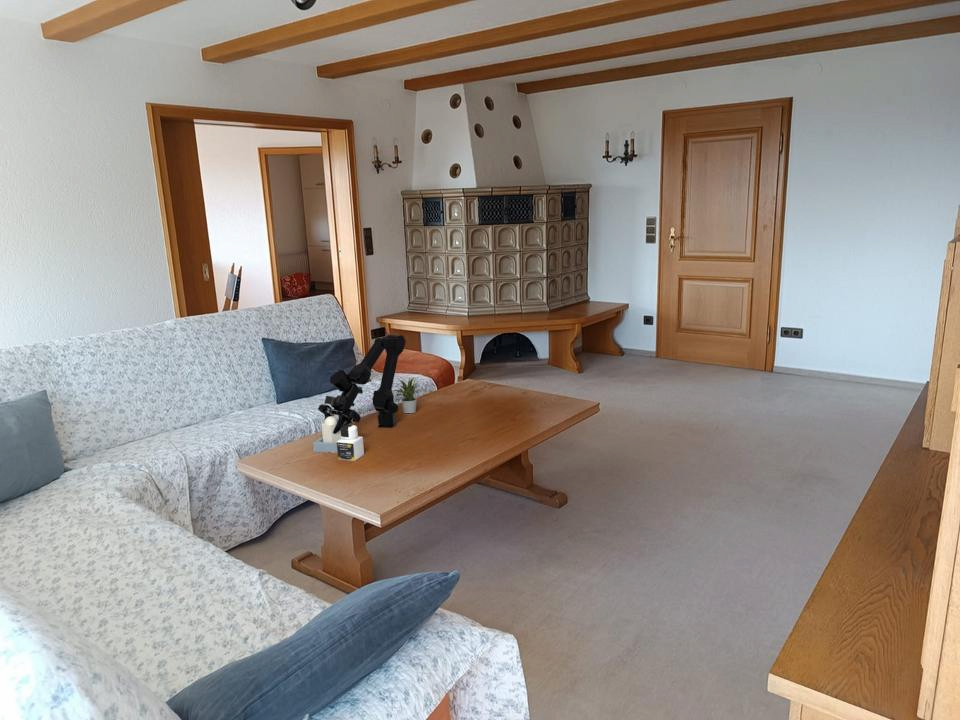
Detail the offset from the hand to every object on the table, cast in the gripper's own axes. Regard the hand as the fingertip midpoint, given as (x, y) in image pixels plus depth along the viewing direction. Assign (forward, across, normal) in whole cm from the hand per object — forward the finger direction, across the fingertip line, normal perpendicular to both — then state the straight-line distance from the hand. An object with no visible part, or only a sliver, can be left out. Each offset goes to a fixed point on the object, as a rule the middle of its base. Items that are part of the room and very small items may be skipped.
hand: (328, 432), depth 253 cm
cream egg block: (+4, 0, +6) cm, 7 cm away
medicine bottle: (+7, +14, +3) cm, 16 cm away
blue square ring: (+4, 0, +6) cm, 7 cm away
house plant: (-32, -5, +42) cm, 53 cm away
